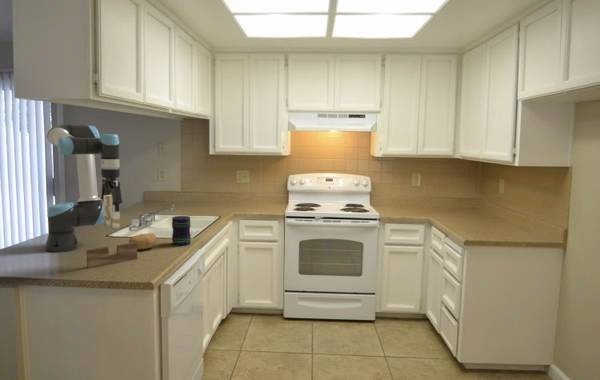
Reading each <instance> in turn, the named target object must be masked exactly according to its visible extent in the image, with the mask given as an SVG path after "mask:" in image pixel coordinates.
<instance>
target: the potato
mask: <svg viewBox="0 0 600 380" xmlns="http://www.w3.org/2000/svg"><path fill="white" fill-rule="evenodd" d="M132 242H136V243H137V251H138V250H139V251H144V250H148V249H150V248H152V247H154V246H155V245H156V243H157V236H156V234H154V233H150V232H149V233H140V234H136V235H133V236H131V237H130V238H129V240H128V243H132Z"/></svg>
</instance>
